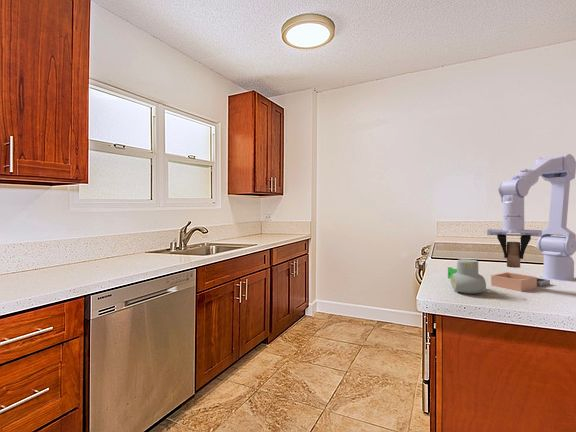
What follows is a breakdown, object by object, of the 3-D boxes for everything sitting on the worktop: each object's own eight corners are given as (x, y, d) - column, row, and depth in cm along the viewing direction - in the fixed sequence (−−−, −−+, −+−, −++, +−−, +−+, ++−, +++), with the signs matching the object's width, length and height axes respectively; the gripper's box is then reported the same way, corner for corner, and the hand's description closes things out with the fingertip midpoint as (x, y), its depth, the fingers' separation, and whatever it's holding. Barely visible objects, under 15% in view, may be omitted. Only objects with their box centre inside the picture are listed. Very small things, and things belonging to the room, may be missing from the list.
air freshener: (449, 287, 109) (449, 257, 108) (476, 288, 107) (476, 258, 106) (457, 295, 98) (457, 263, 98) (488, 297, 96) (488, 264, 96)
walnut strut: (506, 265, 108) (506, 241, 107) (520, 266, 106) (520, 241, 105) (506, 267, 105) (506, 242, 104) (520, 268, 103) (520, 243, 102)
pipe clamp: (471, 287, 109) (471, 273, 109) (460, 286, 110) (460, 273, 109) (458, 279, 120) (458, 266, 120) (447, 279, 121) (447, 266, 121)
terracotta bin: (506, 283, 111) (506, 272, 111) (536, 289, 103) (536, 277, 103) (491, 287, 107) (491, 275, 107) (520, 293, 99) (520, 280, 99)
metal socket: (528, 282, 112) (528, 276, 112) (549, 286, 107) (550, 280, 107) (517, 284, 109) (517, 278, 109) (539, 288, 104) (539, 282, 104)
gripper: (486, 216, 105) (486, 258, 106) (543, 216, 97) (543, 261, 98) (487, 216, 111) (487, 255, 111) (540, 216, 103) (540, 258, 104)
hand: (513, 258), depth 105 cm, fingers closed on walnut strut, 4 cm apart
